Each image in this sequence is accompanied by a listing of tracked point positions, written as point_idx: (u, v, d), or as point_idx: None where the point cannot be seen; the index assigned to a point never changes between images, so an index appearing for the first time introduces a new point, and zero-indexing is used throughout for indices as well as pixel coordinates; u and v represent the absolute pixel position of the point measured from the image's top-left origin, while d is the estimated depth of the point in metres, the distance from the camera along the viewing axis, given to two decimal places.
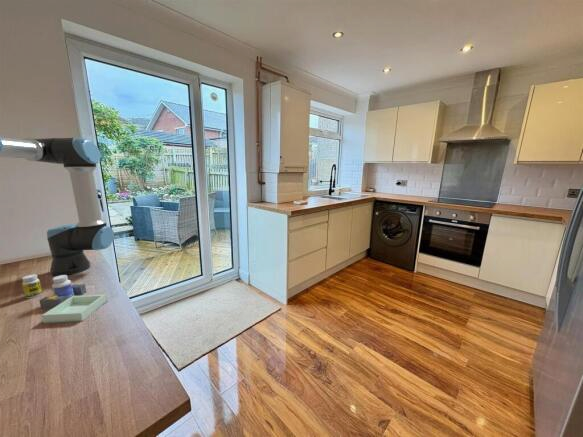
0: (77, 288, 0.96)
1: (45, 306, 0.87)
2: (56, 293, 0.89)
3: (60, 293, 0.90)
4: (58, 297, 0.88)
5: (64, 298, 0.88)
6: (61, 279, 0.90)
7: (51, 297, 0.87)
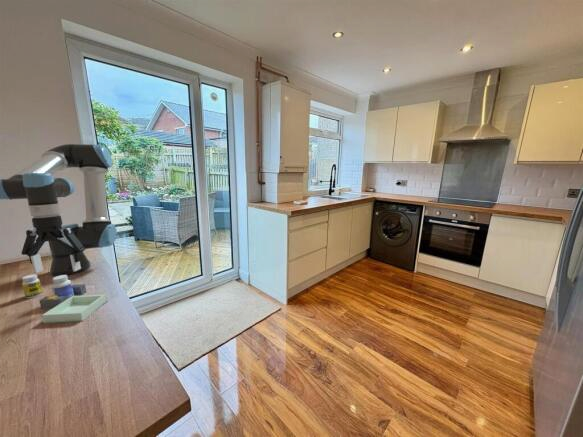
0: (77, 288, 0.96)
1: (45, 306, 0.87)
2: (56, 293, 0.89)
3: (60, 293, 0.90)
4: (58, 297, 0.88)
5: (64, 298, 0.88)
6: (61, 279, 0.90)
7: (51, 297, 0.87)
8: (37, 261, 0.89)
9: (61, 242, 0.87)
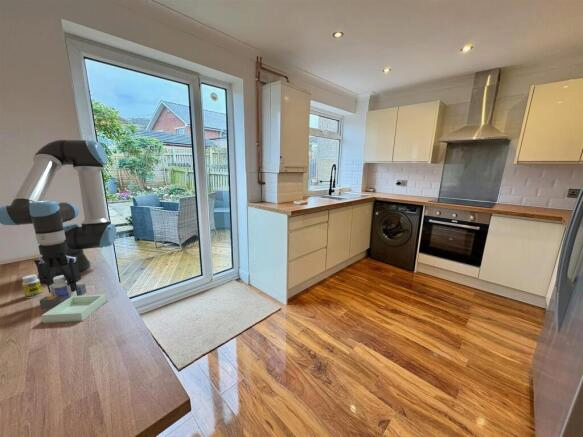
0: (77, 288, 0.96)
1: (45, 306, 0.87)
2: (56, 293, 0.89)
3: (60, 293, 0.90)
4: (58, 297, 0.88)
5: (64, 298, 0.88)
6: (61, 279, 0.90)
7: (51, 297, 0.87)
8: None
9: (63, 270, 0.89)
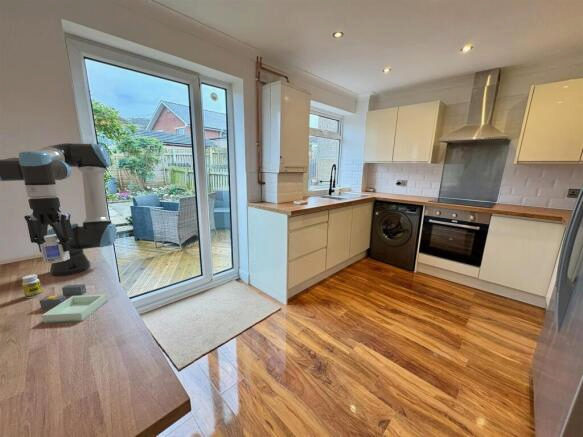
0: (77, 288, 0.96)
1: (45, 306, 0.87)
2: (47, 252, 0.84)
3: (52, 252, 0.84)
4: (58, 297, 0.88)
5: (64, 298, 0.88)
6: (52, 237, 0.84)
7: (51, 297, 0.87)
8: None
9: (54, 227, 0.84)
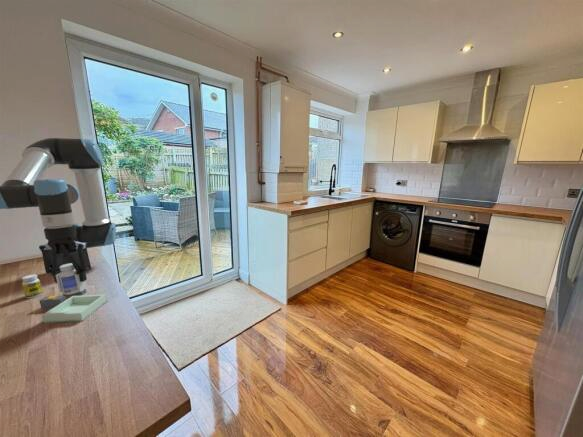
0: None
1: (45, 306, 0.87)
2: (63, 283, 0.80)
3: (68, 283, 0.80)
4: (58, 297, 0.88)
5: (64, 298, 0.88)
6: (69, 267, 0.80)
7: (51, 297, 0.87)
8: None
9: (71, 257, 0.80)
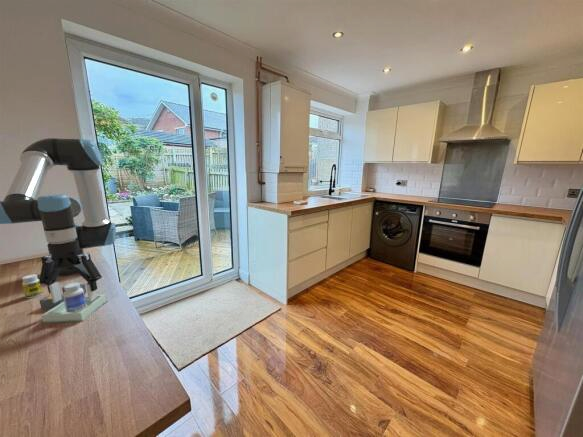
0: None
1: (45, 306, 0.87)
2: (67, 303, 0.81)
3: (72, 303, 0.81)
4: None
5: None
6: (73, 287, 0.82)
7: (51, 297, 0.87)
8: (56, 290, 0.83)
9: (78, 269, 0.81)
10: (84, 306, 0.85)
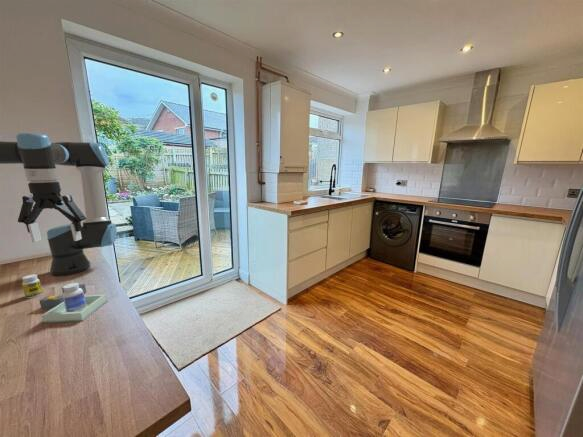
0: None
1: (45, 306, 0.87)
2: (67, 303, 0.81)
3: (71, 303, 0.81)
4: (58, 297, 0.88)
5: None
6: (72, 288, 0.81)
7: (51, 297, 0.87)
8: (35, 230, 0.84)
9: (60, 210, 0.82)
10: (84, 306, 0.85)
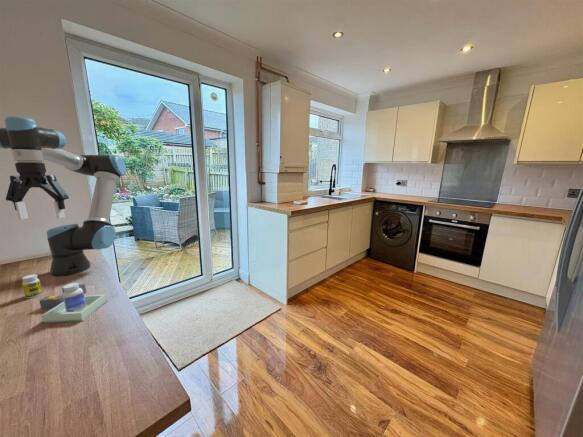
0: None
1: (45, 306, 0.87)
2: (67, 303, 0.81)
3: (71, 303, 0.81)
4: (58, 297, 0.88)
5: None
6: (72, 288, 0.81)
7: (51, 297, 0.87)
8: (22, 208, 0.90)
9: (45, 188, 0.89)
10: (84, 306, 0.85)
